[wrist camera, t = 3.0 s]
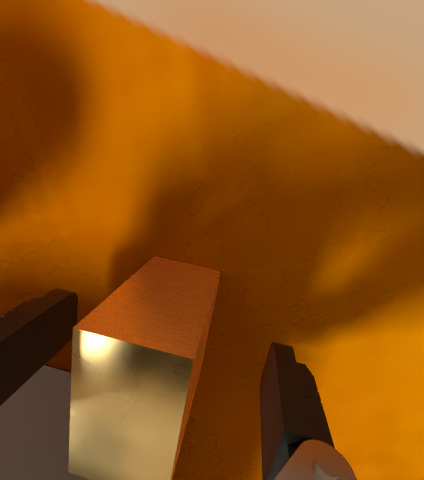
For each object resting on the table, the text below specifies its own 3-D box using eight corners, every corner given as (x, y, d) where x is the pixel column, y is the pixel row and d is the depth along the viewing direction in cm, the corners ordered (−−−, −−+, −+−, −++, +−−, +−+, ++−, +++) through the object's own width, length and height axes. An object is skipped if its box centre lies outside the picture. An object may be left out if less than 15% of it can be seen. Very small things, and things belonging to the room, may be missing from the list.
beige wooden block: (221, 270, 11) (193, 359, 6) (202, 365, 13) (166, 504, 8) (154, 255, 12) (73, 327, 6) (142, 350, 13) (68, 472, 8)
